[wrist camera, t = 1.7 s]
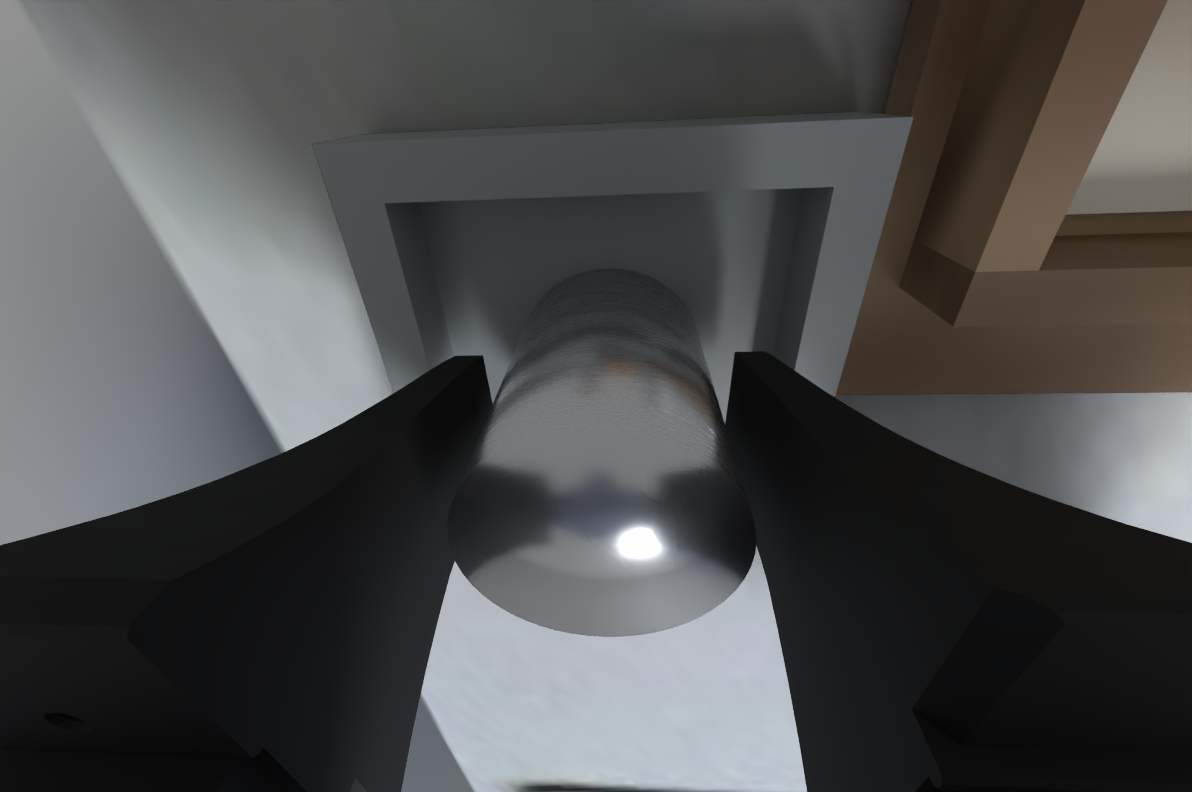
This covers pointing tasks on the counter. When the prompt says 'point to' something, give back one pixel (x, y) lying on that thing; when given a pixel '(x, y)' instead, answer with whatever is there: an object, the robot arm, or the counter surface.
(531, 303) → the shallow grey tray
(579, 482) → the billet
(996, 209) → the wooden compartment tray
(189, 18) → the counter surface
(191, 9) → the counter surface
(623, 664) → the counter surface
